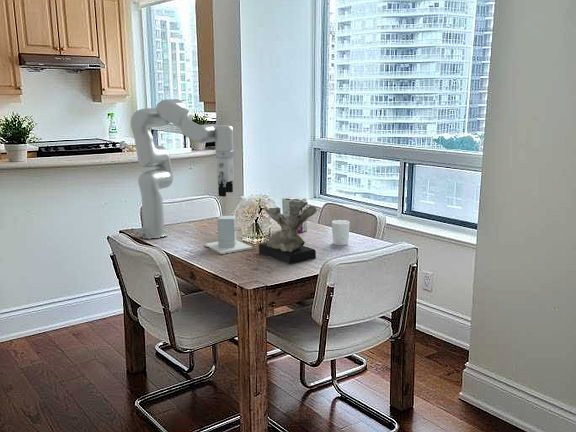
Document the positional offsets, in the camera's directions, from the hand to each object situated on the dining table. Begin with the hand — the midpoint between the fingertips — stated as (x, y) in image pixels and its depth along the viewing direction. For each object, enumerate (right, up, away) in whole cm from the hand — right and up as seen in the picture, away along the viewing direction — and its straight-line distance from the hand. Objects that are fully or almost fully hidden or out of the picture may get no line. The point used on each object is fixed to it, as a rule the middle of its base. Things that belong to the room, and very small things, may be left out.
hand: (225, 194), depth 246 cm
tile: (0, -23, +5) cm, 24 cm away
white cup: (+50, -22, +9) cm, 56 cm away
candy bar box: (+30, -17, +34) cm, 48 cm away
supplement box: (0, -22, +5) cm, 23 cm away
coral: (+28, -25, -5) cm, 38 cm away
